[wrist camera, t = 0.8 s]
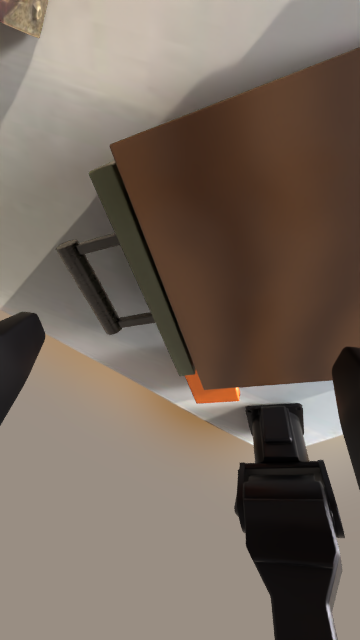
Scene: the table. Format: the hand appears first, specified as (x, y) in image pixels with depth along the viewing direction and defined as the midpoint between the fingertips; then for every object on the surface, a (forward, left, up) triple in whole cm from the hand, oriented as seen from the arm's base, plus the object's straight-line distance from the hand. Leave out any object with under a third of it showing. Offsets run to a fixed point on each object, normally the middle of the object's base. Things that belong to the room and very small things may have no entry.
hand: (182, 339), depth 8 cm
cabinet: (-2, -6, -14) cm, 15 cm away
